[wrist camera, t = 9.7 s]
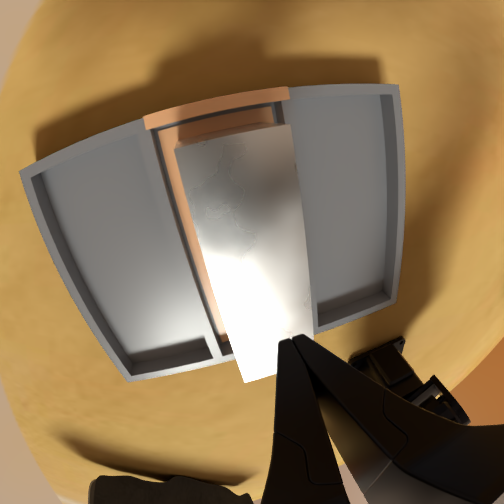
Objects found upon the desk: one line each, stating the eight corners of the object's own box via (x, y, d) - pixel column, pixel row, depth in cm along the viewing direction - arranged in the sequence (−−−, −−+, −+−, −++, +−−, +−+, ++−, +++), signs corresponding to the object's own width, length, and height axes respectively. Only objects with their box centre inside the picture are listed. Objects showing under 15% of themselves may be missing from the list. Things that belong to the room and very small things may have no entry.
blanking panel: (289, 312, 19) (314, 360, 15) (231, 329, 18) (244, 382, 14) (258, 122, 13) (290, 124, 9) (177, 140, 13) (173, 149, 9)
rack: (382, 288, 21) (404, 311, 18) (129, 362, 19) (126, 395, 16) (378, 85, 14) (412, 84, 11) (36, 164, 12) (6, 176, 9)
